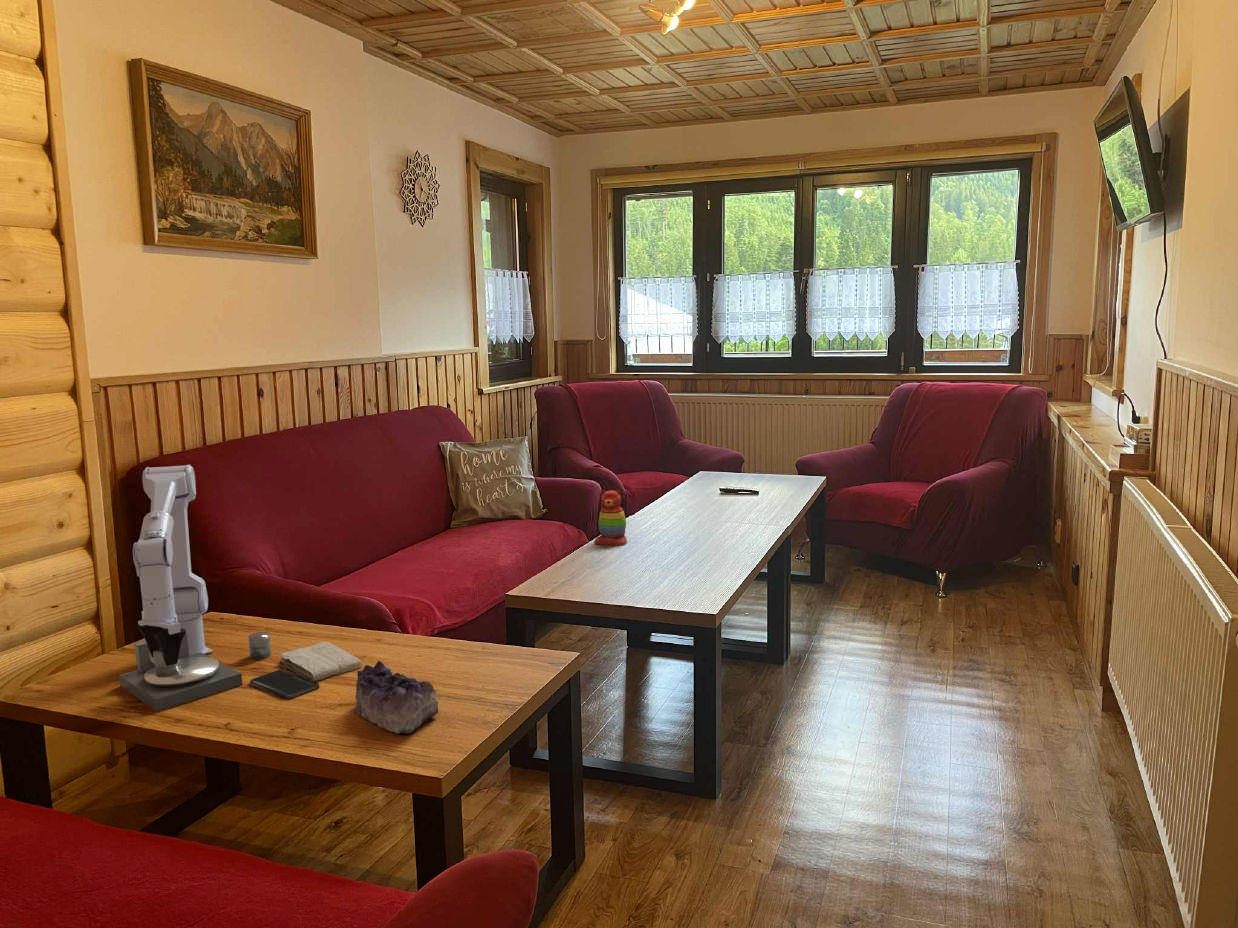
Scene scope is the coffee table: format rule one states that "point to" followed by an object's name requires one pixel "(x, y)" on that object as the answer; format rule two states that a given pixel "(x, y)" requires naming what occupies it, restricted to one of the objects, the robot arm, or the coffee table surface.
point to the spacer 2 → (259, 645)
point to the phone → (284, 684)
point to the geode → (394, 699)
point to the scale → (175, 694)
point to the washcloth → (320, 661)
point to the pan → (185, 672)
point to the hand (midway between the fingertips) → (164, 660)
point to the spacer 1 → (163, 665)
